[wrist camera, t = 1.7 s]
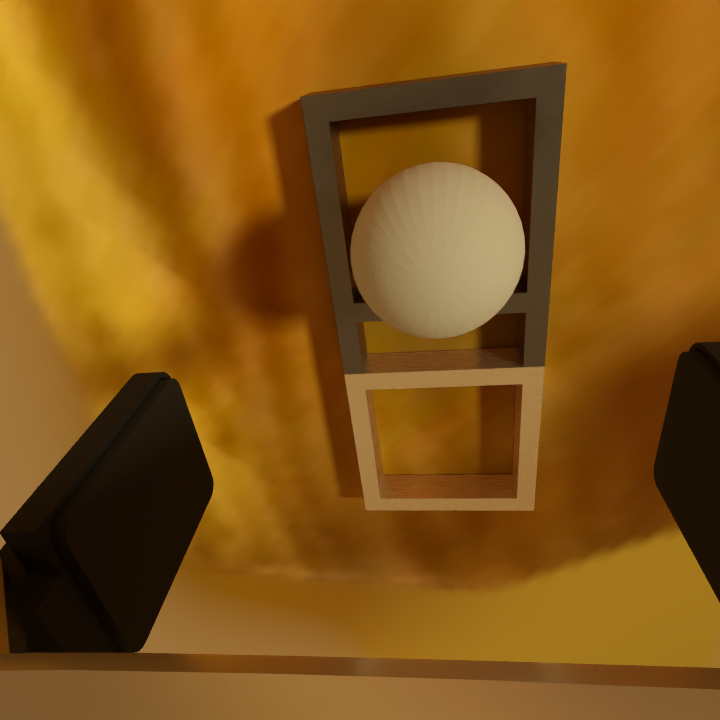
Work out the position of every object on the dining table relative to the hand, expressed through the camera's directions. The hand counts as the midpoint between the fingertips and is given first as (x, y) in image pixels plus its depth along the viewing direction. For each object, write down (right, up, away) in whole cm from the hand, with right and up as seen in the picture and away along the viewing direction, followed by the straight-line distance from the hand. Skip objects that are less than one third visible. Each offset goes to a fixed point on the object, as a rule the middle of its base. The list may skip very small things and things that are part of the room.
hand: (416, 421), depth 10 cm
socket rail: (+3, +3, +17) cm, 17 cm away
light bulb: (+2, +9, +14) cm, 17 cm away
